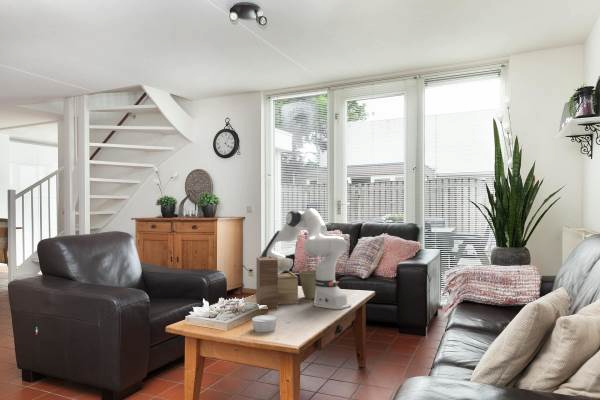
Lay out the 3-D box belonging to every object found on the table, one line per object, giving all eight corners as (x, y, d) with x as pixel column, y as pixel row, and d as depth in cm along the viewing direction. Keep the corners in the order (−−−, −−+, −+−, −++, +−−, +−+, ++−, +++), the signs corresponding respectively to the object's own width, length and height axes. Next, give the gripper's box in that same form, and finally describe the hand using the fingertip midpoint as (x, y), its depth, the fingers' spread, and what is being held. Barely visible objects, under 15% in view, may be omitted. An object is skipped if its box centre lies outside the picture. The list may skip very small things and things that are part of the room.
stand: (302, 307, 233) (302, 257, 234) (259, 310, 228) (259, 259, 228) (290, 295, 266) (290, 251, 266) (252, 297, 260) (252, 252, 261)
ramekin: (253, 334, 186) (253, 322, 186) (250, 327, 197) (250, 315, 197) (278, 332, 188) (278, 320, 188) (274, 325, 199) (274, 314, 199)
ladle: (290, 267, 248) (290, 259, 248) (280, 267, 247) (280, 259, 247) (283, 261, 273) (283, 254, 273) (273, 261, 271) (273, 254, 271)
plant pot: (323, 300, 252) (323, 273, 252) (298, 300, 252) (298, 273, 253) (322, 295, 267) (322, 269, 267) (299, 295, 267) (299, 269, 267)
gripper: (260, 262, 279) (262, 254, 268) (290, 261, 284) (294, 253, 273) (260, 271, 276) (263, 263, 265) (291, 270, 281) (295, 262, 269)
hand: (279, 258), depth 269 cm, fingers closed on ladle, 3 cm apart
